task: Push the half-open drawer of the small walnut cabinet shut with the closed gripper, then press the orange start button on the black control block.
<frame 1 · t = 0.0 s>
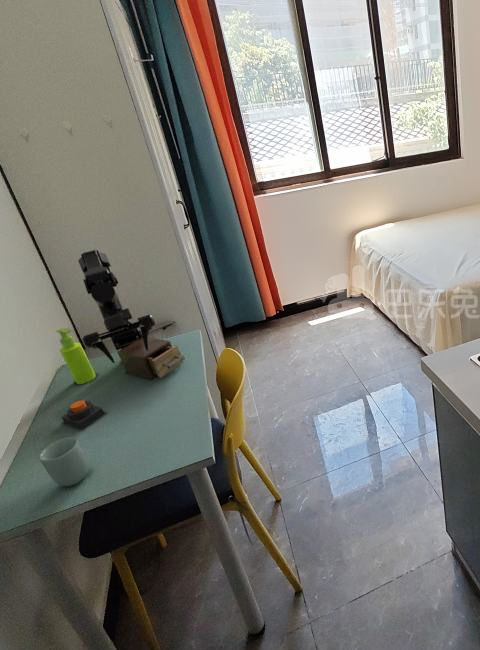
hand: (130, 356, 134), 15 cm above the table, tool tilted 35°, fingers open, 9 cm apart
drawer: (161, 359, 152), point 4 cm above the table, slide at 3.0 cm
control block: (84, 418, 133), on the table
soap dispenser: (87, 379, 154), on the table
cabinet: (152, 367, 156), on the table
cup: (76, 479, 111), on the table
start button: (78, 406, 132), point 4 cm above the table, slide at 0.1 cm
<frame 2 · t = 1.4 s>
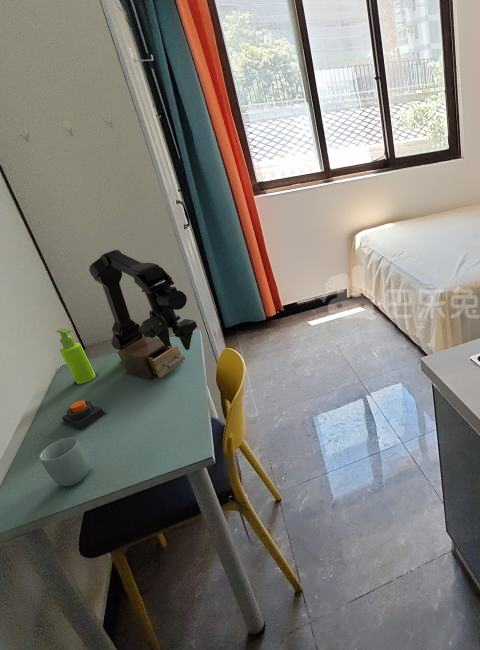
hand: (178, 348, 143), 11 cm above the table, tool pointing down, fingers open, 9 cm apart
nothing on the table moved.
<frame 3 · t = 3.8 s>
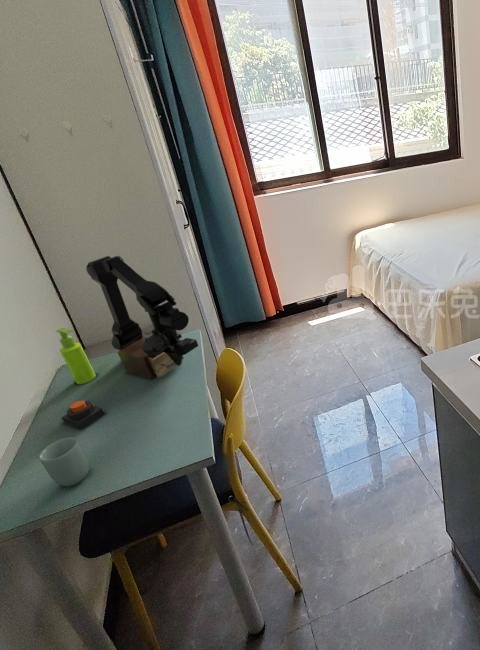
hand: (179, 364, 148), 4 cm above the table, tool pointing down, fingers closed
drawer: (160, 359, 152), point 4 cm above the table, slide at 2.4 cm, touching gripper
everything else where it was.
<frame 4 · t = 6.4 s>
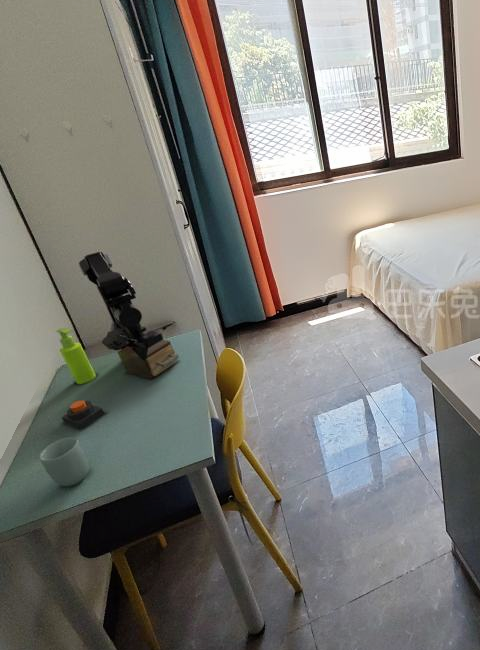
hand: (144, 359, 141), 10 cm above the table, tool pointing down, fingers closed
drawer: (155, 358, 153), point 4 cm above the table, slide at 0.0 cm, touching cabinet
everything else where it was.
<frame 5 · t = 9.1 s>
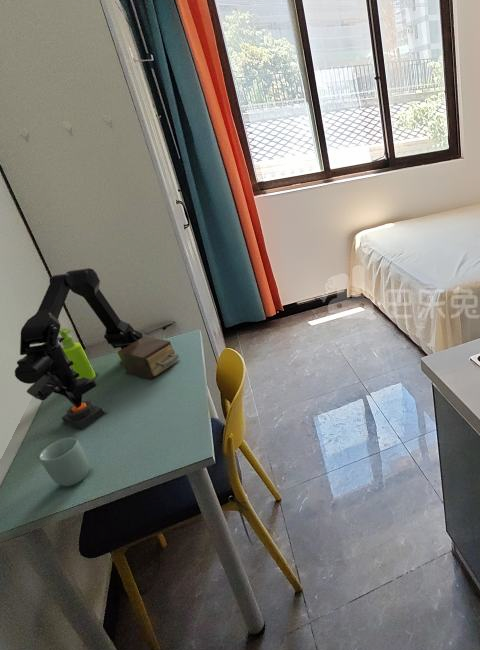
hand: (78, 406, 132), 5 cm above the table, tool pointing down, fingers closed, pressing on start button
start button: (79, 408, 132), point 4 cm above the table, slide at -0.7 cm, touching gripper
everything else where it was.
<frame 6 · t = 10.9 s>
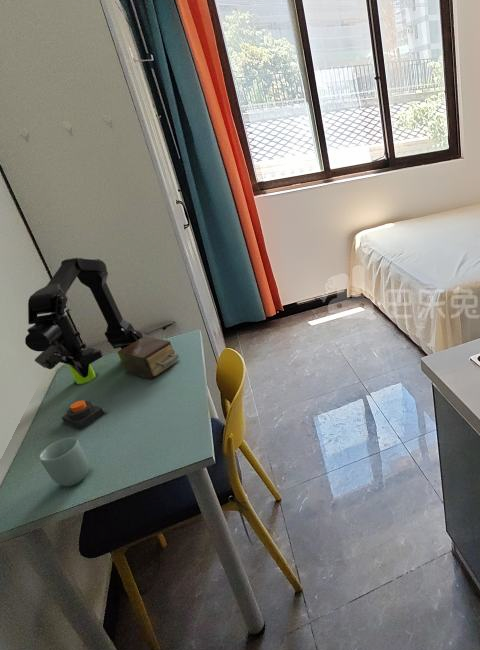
hand: (85, 376, 134), 11 cm above the table, tool pointing down, fingers closed
start button: (78, 406, 132), point 4 cm above the table, slide at 0.1 cm
everything else where it was.
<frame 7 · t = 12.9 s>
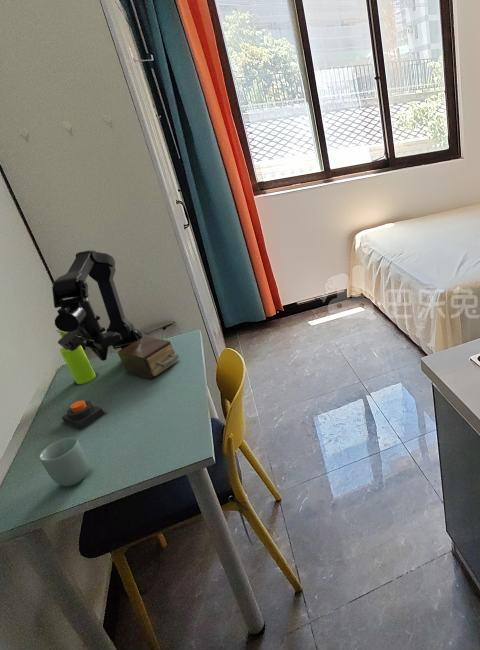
hand: (104, 360, 140), 12 cm above the table, tool pointing down, fingers closed
nothing on the table moved.
at the end: drawer slide at 0.0 cm; start button pushed in 1.1 cm at the most during the clip, back to where it started at the end; start button slide at 0.1 cm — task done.
